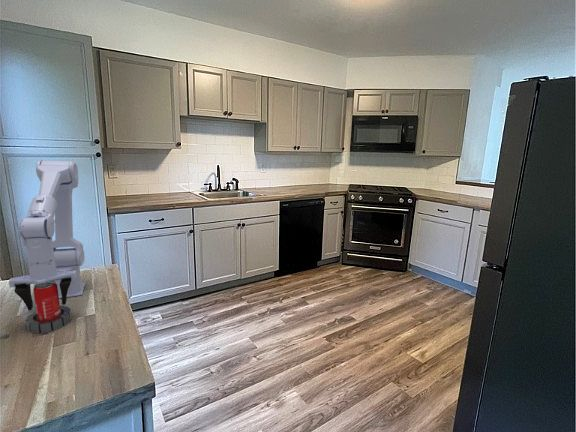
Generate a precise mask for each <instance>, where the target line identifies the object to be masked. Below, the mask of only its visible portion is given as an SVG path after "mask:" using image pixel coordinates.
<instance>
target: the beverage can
mask: <svg viewBox="0 0 576 432" xmlns="http://www.w3.org/2000/svg"><path fill="white" fill-rule="evenodd" d="M32 291H33V296H34V303H35V308H36V309H35V310H36V311H37V318H38V321H39V322H43V321H49V320H53V319H55V318H58V317H60V316H61V311H60V306H61V303H60V298H59V295H58V288H57V284H56V282H55V281H50V282H46V283H40V284H37V283H35V284H34V286H33V290H32Z"/></svg>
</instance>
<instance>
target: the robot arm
mask: <svg viewBox="0 0 576 432" xmlns="http://www.w3.org/2000/svg"><path fill="white" fill-rule="evenodd" d="M35 172H36V175H37V178H38V179H39V181H40V185H39V191H38V195H36V196H34V197H32V199H31V202H30V205H29V208H28V212H27V214H26V217H24V218H23V219H21V220H20V221H19V223H18V235H19V238H20V239H21V241H22V245H23V247H25V250H26V256H27V263H28V271H29V274H26V275H21V276H16V277H11V278H10V279H9V280H8V286H9V288H10V289H11V288H14V290H13V291H14V293H15V294H16V295H17V296H18V297H19V298H21V300H22V301H23V303H24V304H25V306H26V308H27V310H28V311H32V310H33V307H34V302H33V298H32V290H31V289H32V288H31V285H33V284H34V285H36V284H40V283H46V282H50V281H55V282H56V284H57V288H58V295H59V299H61V304H62V305H61V306H66V305H67V298H69V297H70V298H71V297H77V296H82V295H84V289H85V286H86V285H85V282H82V278H81V277H82V276H81V275H82V274H81V269H80V268H81V267H82V265H83V264H84V263H85V251H84V245H83V243H82V242H81V241H79V240H77V239H75V237H73V236H74V231H73V229H74V228H73V189H75V188H76V189H77V188H78V187H79V186H78V185H79V169H78V165H77V163H76V162H75V161H74V160H70V161H69V160H42V159H41V160H38V161H37V163H36V165H35ZM54 236H55V237H54ZM53 237H54V239H53Z"/></svg>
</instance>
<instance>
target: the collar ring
mask: <svg viewBox="0 0 576 432" xmlns="http://www.w3.org/2000/svg"><path fill="white" fill-rule="evenodd" d="M60 311H61V316H60V317H58V318H55V319H53V320H49V321H43V322H39V321H38V318H37V311H34V312H32V313H30V314H29V315H27V316H26V318H25V328H26V330H27V331H28V332H29V333H31V334H43V333H49V332H53V331H56V330H59V329H60V328H63V327H65V326H66V325H68V324H69V323H70V322H71V321H72V309H71V308H70V307H68V306H67V305H60Z"/></svg>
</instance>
